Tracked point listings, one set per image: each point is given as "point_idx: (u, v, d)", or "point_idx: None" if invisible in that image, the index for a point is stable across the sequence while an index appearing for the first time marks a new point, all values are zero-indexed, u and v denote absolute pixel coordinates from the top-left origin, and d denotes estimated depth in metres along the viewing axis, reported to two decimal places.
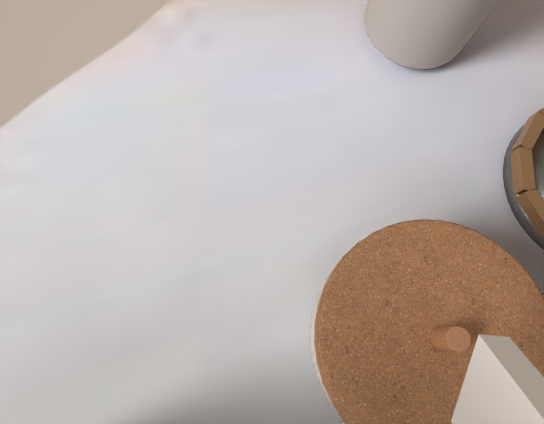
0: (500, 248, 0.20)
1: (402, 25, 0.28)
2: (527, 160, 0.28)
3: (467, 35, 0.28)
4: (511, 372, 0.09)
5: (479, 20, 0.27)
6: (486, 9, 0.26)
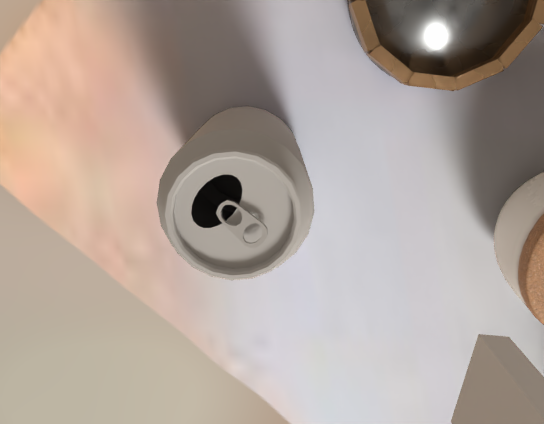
0: None
1: None
2: (424, 79, 0.27)
3: (296, 143, 0.26)
4: (511, 372, 0.09)
5: (297, 146, 0.25)
6: None
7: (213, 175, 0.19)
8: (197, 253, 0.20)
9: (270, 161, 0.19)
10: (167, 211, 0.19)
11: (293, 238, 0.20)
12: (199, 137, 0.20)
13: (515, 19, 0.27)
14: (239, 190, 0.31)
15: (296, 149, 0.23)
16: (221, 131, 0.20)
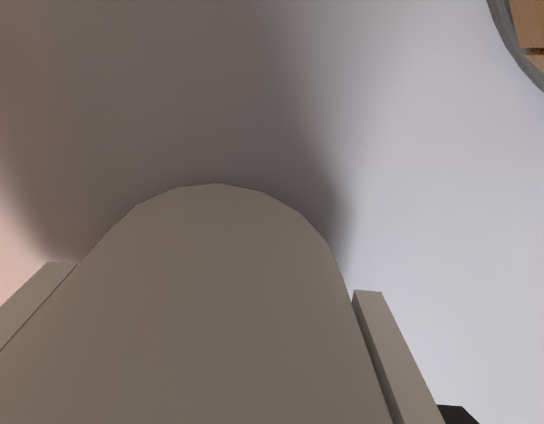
0: None
1: None
2: None
3: (347, 302, 0.10)
4: (368, 317, 0.11)
5: (358, 337, 0.08)
6: (376, 384, 0.07)
7: None
8: None
9: None
10: None
11: None
12: None
13: None
14: None
15: (377, 410, 0.06)
16: None
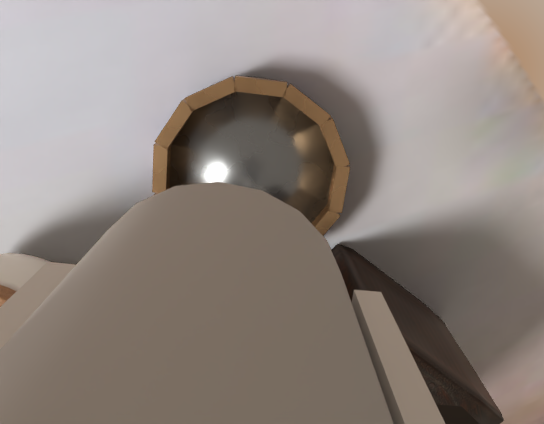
0: None
1: None
2: (160, 160, 0.26)
3: (347, 301, 0.09)
4: (368, 317, 0.11)
5: (358, 335, 0.08)
6: (376, 383, 0.07)
7: None
8: None
9: None
10: None
11: None
12: None
13: None
14: None
15: (377, 408, 0.06)
16: None
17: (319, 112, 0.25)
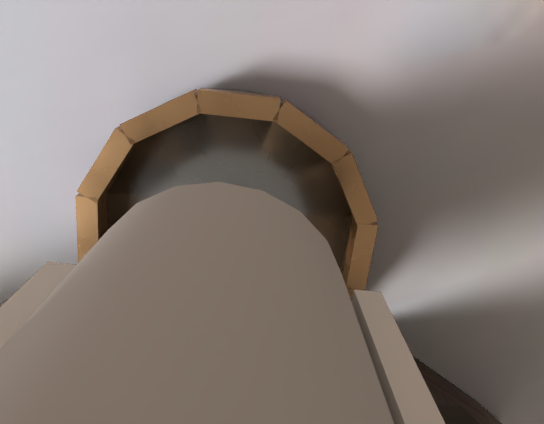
0: None
1: None
2: (88, 219, 0.17)
3: (347, 301, 0.09)
4: (367, 317, 0.11)
5: (359, 336, 0.08)
6: (376, 383, 0.07)
7: None
8: None
9: None
10: None
11: None
12: None
13: None
14: None
15: (378, 409, 0.06)
16: None
17: (331, 144, 0.16)
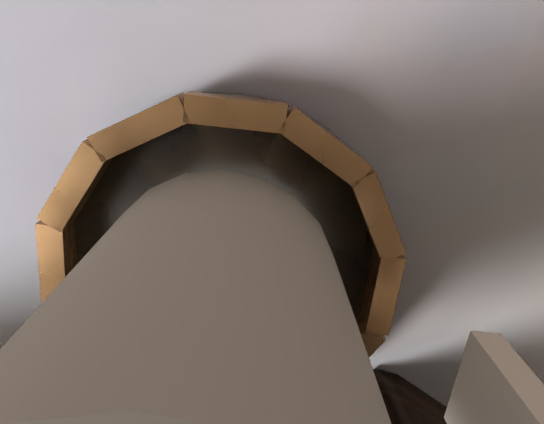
0: None
1: None
2: (51, 252, 0.14)
3: (335, 271, 0.11)
4: (501, 367, 0.09)
5: None
6: (356, 332, 0.09)
7: None
8: None
9: None
10: None
11: None
12: None
13: None
14: None
15: (355, 345, 0.08)
16: None
17: (350, 161, 0.13)
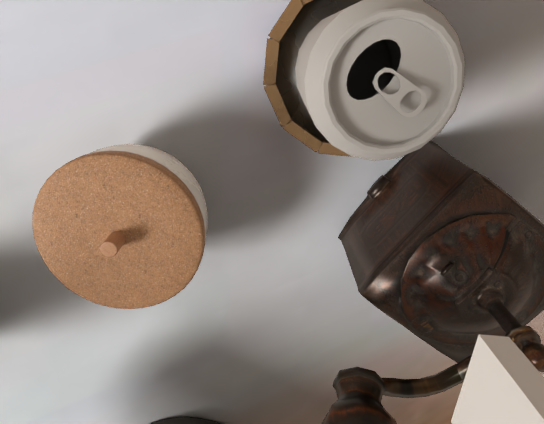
0: (165, 177, 0.26)
1: None
2: (272, 53, 0.29)
3: None
4: (511, 372, 0.09)
5: None
6: None
7: (372, 40, 0.19)
8: (348, 128, 0.20)
9: (436, 20, 0.18)
10: (326, 78, 0.19)
11: (451, 106, 0.19)
12: (354, 5, 0.19)
13: None
14: None
15: None
16: None
17: None
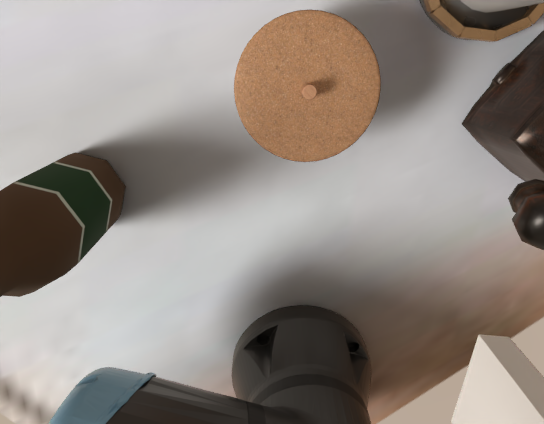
0: (357, 32, 0.31)
1: None
2: None
3: None
4: (511, 372, 0.09)
5: None
6: None
7: None
8: None
9: None
10: None
11: None
12: None
13: (461, 21, 0.37)
14: None
15: None
16: None
17: None
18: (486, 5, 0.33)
